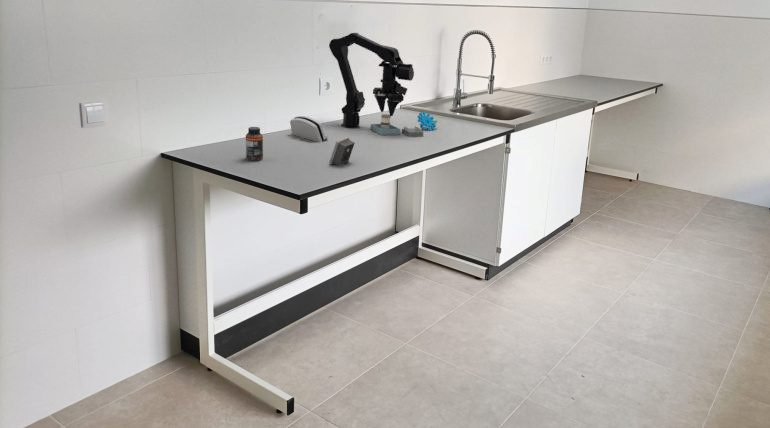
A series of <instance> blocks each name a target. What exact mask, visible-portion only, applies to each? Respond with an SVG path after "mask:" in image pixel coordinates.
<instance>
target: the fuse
mask: <svg viewBox="0 0 770 428" xmlns="http://www.w3.org/2000/svg"><path fill="white" fill-rule="evenodd" d="M380 115H381V117H380V124H381V129H390V124H391V119H392V118H391V117H392V116H390V114H387V113H386V114H385V113H384V114H380Z"/></svg>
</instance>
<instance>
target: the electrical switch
mask: <svg viewBox="0 0 770 428" xmlns="http://www.w3.org/2000/svg"><path fill="white" fill-rule="evenodd" d="M355 144H356V143H355V142H354V141H352V140H351V139H350V137H349V136H345V137H343V138H340V139H338V140H336V141H335V144H334V148H333V150H332V153H331V155H330V159H329V164H330V165H333V164H334V165H336V166H338V167H340V166H342V165H344V164H346V163H347V162H349V161H350V158H351V156H352V153H353V152H352V151H353V150H354V146H355Z"/></svg>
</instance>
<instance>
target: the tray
mask: <svg viewBox="0 0 770 428" xmlns="http://www.w3.org/2000/svg"><path fill="white" fill-rule="evenodd" d="M370 130H371V131H372V132H374V133H375V134H378V135H379V136H393V135H394V136H395V135H398V136H399V135H400V134H401V129H400V128H399V127H397V126H395V125H392V124H391V123H390V129H381V123H373V124H372V123H370Z"/></svg>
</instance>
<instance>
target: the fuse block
mask: <svg viewBox="0 0 770 428" xmlns="http://www.w3.org/2000/svg"><path fill="white" fill-rule="evenodd" d="M422 129H423V127H422V128H421V127H420V126H418V125H415V127H414V128H410V127H408V126H403V128H401V134H402V135H404V136H406V137H408V138H416V137H417V138H418V137H419V138H420V137H424V131H422Z"/></svg>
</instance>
